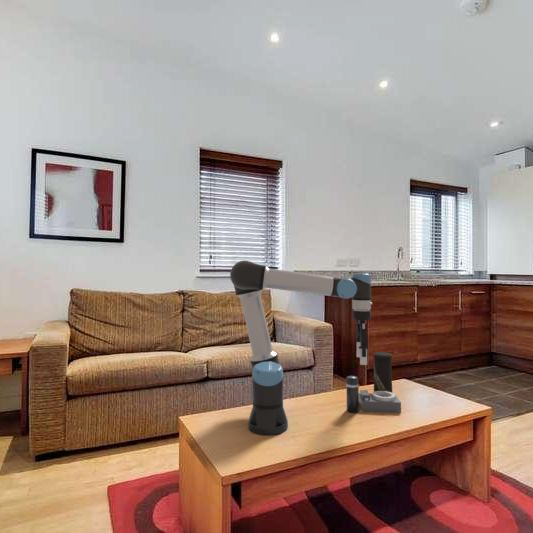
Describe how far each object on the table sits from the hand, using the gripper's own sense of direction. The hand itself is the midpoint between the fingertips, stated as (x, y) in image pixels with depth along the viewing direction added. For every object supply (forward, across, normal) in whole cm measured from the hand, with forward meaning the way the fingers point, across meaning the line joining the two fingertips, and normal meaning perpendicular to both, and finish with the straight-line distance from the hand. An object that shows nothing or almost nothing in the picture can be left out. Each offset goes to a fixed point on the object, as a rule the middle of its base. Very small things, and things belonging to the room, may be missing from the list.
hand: (361, 360), depth 157 cm
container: (+22, +25, -13) cm, 36 cm away
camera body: (+22, +8, -8) cm, 25 cm away
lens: (+22, +2, +4) cm, 22 cm away
